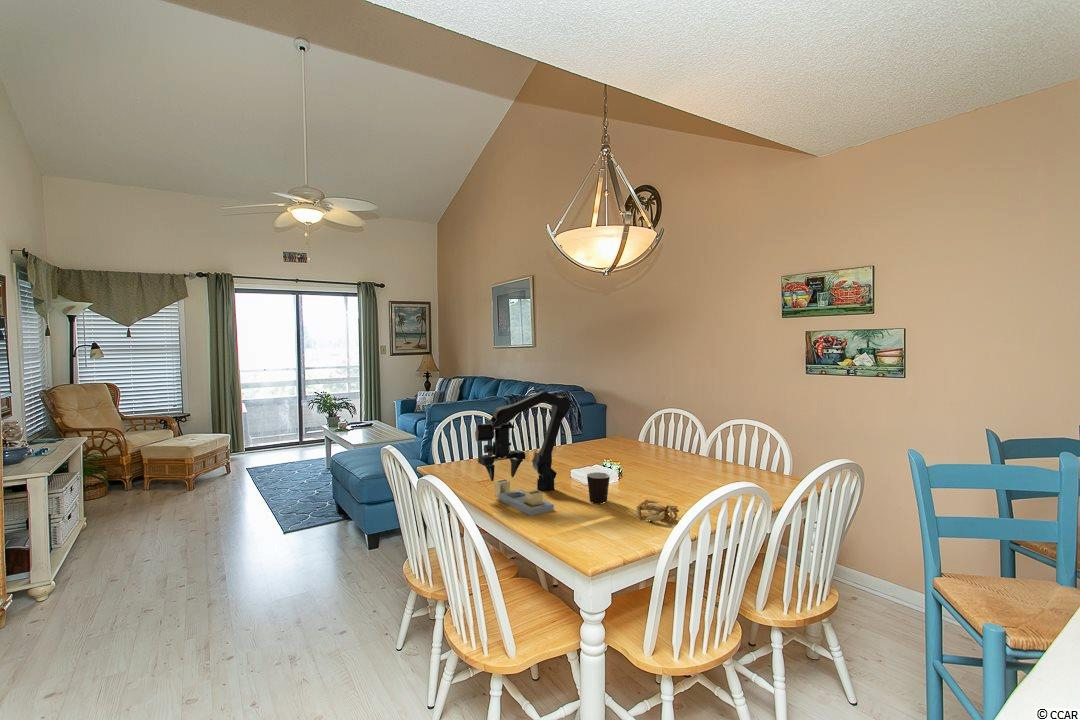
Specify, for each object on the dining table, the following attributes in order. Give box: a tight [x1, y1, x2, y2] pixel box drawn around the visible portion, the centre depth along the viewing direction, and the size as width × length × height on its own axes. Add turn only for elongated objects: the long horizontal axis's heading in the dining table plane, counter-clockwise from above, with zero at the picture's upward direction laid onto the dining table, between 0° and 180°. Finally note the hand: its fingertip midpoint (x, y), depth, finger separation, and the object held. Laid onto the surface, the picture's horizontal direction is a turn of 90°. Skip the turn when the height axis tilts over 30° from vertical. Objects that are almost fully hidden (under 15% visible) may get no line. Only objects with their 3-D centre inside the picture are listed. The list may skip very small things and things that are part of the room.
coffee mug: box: [586, 471, 611, 504], centre depth 190 cm, size 12×9×10 cm
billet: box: [494, 478, 511, 498], centre depth 199 cm, size 4×4×6 cm
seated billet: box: [525, 489, 544, 507], centre depth 180 cm, size 4×4×6 cm
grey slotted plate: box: [497, 489, 555, 517], centre depth 185 cm, size 22×10×3 cm, turn 35°
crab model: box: [635, 499, 680, 522], centre depth 174 cm, size 16×13×6 cm
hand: (502, 479), depth 199 cm, fingers open, 9 cm apart
